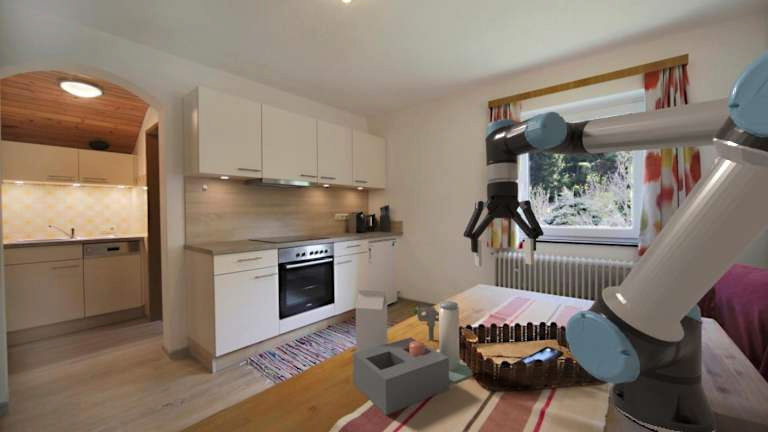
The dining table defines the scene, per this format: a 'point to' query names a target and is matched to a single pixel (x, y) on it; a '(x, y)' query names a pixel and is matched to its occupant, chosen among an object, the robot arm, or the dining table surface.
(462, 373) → the mat
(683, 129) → the robot arm
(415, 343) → the pink egg shape
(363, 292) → the milk carton
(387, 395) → the housing
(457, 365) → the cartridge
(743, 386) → the dining table surface
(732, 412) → the dining table surface
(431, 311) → the mechanical component
